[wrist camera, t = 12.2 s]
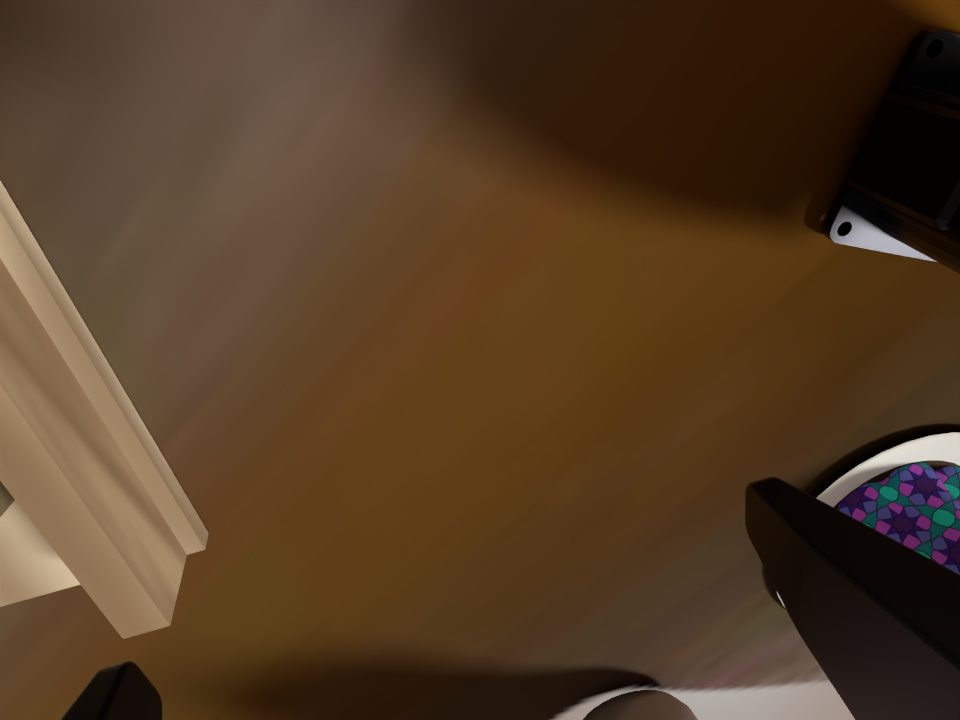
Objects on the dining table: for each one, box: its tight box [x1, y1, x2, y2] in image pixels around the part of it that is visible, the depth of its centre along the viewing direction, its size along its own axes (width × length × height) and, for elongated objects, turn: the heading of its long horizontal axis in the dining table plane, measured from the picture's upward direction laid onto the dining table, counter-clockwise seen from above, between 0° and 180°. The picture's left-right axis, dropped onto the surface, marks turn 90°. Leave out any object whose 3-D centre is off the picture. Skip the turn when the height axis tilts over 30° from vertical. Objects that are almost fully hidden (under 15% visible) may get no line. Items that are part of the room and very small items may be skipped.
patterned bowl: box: [777, 432, 960, 607], centre depth 30 cm, size 12×12×5 cm
